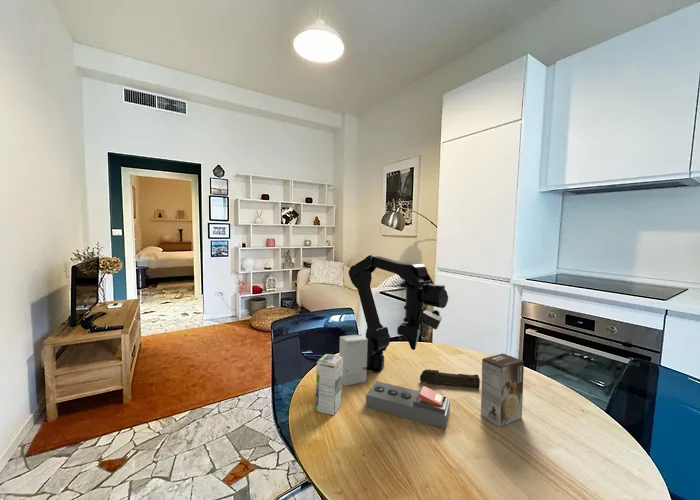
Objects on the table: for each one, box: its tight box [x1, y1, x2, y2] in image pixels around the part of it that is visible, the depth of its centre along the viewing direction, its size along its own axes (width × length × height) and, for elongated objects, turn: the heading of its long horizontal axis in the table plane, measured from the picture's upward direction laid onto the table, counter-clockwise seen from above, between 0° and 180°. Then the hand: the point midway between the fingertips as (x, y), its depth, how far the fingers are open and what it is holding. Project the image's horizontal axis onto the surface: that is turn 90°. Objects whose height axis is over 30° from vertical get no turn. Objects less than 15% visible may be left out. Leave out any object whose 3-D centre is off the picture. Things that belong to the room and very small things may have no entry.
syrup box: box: [315, 353, 343, 416], centre depth 84 cm, size 6×6×14 cm
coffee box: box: [480, 353, 525, 428], centre depth 82 cm, size 9×6×16 cm
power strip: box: [365, 380, 451, 430], centre depth 85 cm, size 22×9×4 cm, turn 65°
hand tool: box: [419, 369, 481, 390], centre depth 100 cm, size 19×4×5 cm, turn 81°
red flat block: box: [418, 385, 445, 407], centre depth 82 cm, size 6×5×1 cm
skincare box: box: [338, 334, 368, 387], centre depth 101 cm, size 8×6×15 cm
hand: (413, 349), depth 98 cm, fingers closed
